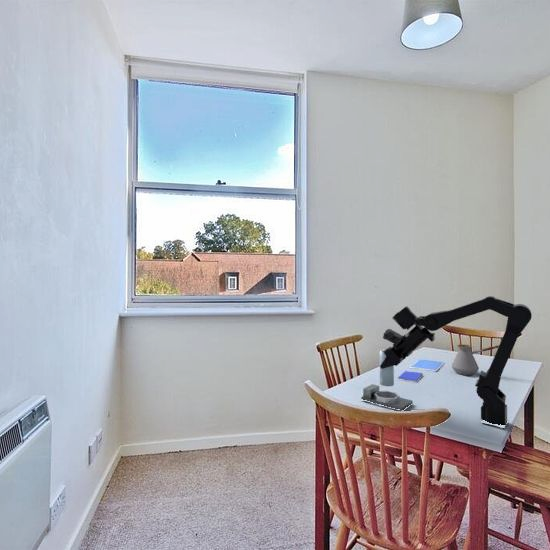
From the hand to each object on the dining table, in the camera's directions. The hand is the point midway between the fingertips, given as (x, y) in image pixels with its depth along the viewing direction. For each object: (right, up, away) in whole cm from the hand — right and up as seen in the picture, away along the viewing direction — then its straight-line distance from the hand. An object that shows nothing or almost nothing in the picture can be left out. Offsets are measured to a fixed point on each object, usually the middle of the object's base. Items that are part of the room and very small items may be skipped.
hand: (383, 366), depth 136 cm
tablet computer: (+37, -13, +49) cm, 63 cm away
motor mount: (+1, -13, -1) cm, 14 cm away
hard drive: (+21, -13, +30) cm, 39 cm away
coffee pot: (+53, -12, +32) cm, 64 cm away
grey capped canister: (+1, -7, -1) cm, 7 cm away
